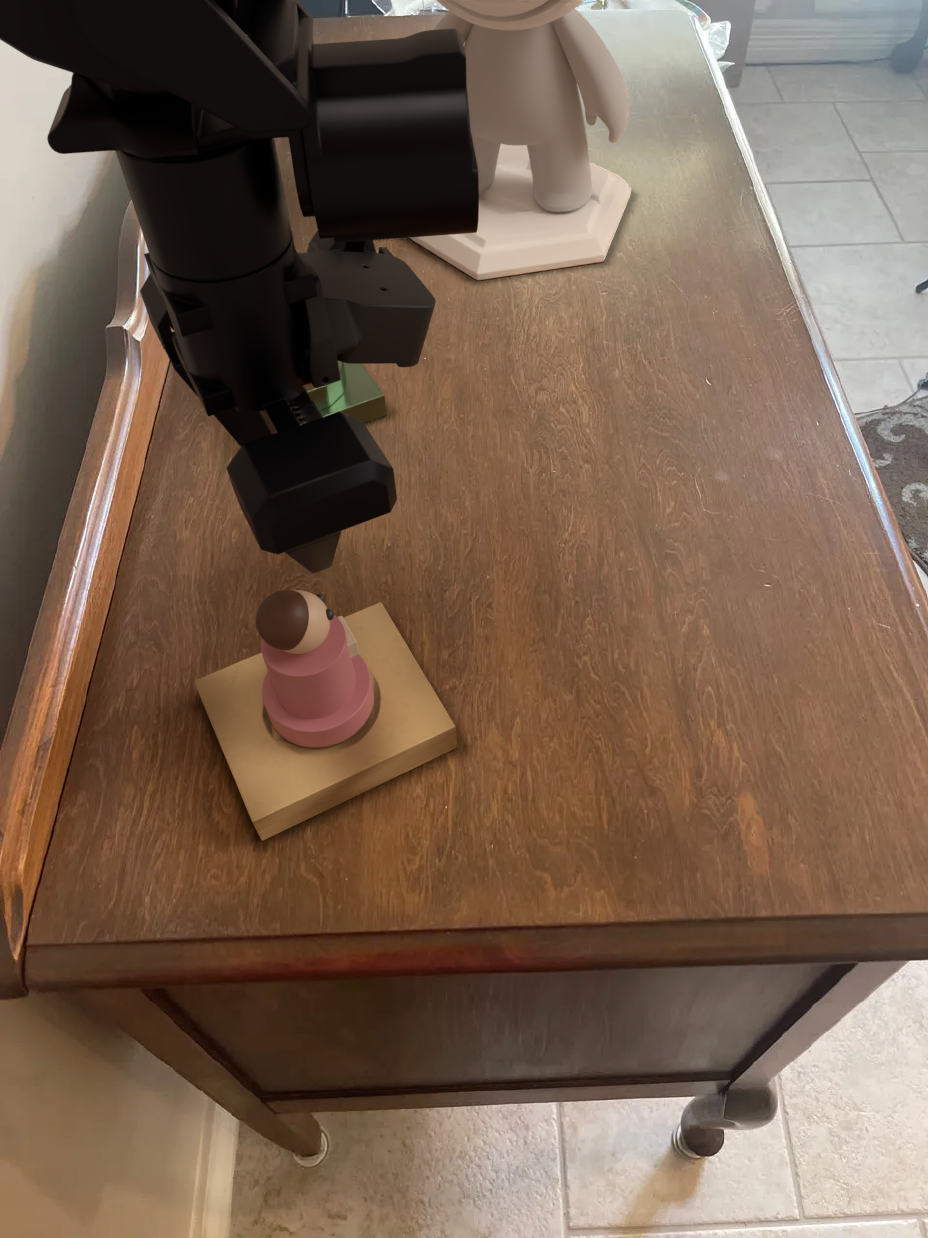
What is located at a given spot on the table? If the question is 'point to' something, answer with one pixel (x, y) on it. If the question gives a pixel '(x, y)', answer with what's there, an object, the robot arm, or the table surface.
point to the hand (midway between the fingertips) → (290, 509)
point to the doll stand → (326, 776)
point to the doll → (311, 670)
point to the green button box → (350, 395)
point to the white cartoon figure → (536, 138)
